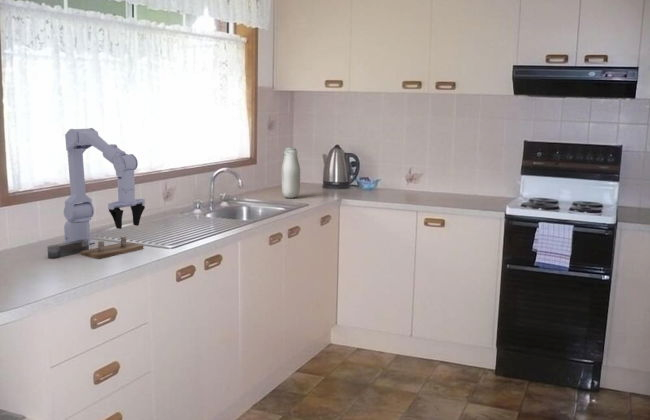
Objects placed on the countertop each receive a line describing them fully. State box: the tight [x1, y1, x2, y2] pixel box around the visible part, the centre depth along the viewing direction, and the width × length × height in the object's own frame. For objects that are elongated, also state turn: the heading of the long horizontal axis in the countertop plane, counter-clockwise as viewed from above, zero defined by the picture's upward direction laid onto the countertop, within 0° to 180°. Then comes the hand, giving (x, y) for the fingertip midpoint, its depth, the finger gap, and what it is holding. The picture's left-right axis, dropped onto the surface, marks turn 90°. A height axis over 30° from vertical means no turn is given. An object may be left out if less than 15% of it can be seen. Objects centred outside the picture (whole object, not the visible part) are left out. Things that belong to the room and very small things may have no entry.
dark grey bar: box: [46, 239, 90, 260], centre depth 247 cm, size 4×16×4 cm, turn 146°
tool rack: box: [80, 236, 144, 260], centre depth 252 cm, size 10×20×4 cm, turn 146°
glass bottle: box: [280, 146, 301, 199], centre depth 381 cm, size 10×10×28 cm
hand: (127, 226), depth 247 cm, fingers open, 7 cm apart
